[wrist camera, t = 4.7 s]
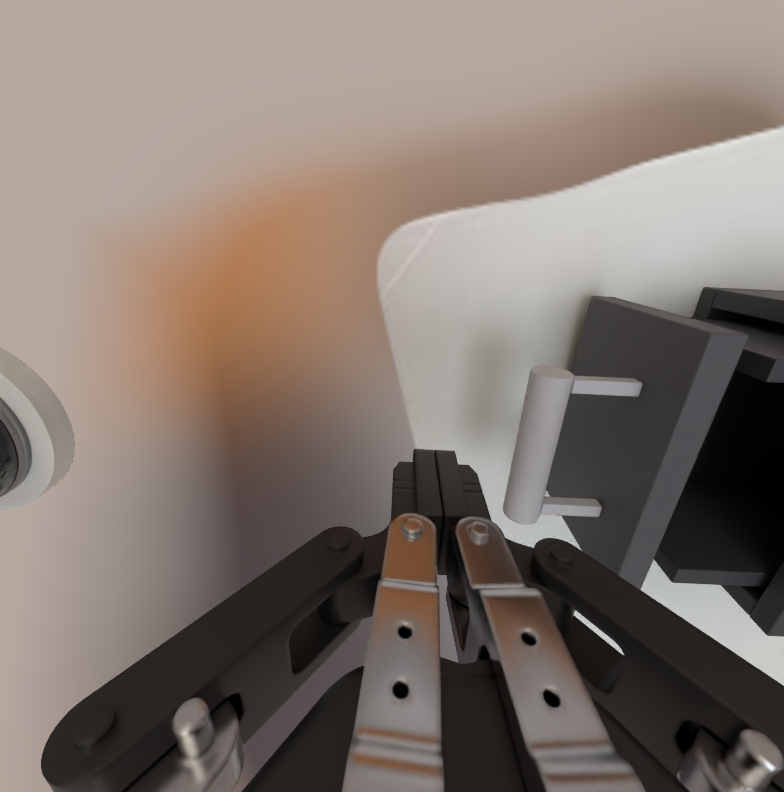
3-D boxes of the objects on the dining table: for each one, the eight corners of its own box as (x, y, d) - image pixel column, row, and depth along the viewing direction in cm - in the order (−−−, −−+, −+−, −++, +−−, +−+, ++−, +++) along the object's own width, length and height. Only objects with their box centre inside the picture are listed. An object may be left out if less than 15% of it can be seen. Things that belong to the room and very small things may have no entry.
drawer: (474, 482, 23) (509, 594, 16) (505, 291, 19) (572, 326, 11) (760, 496, 23) (924, 613, 16) (860, 308, 19) (1152, 353, 11)
